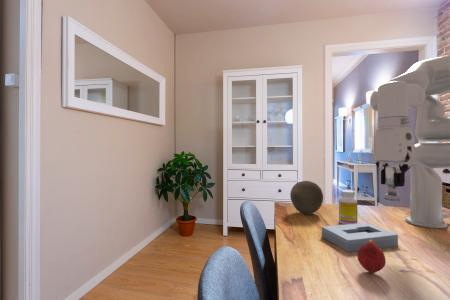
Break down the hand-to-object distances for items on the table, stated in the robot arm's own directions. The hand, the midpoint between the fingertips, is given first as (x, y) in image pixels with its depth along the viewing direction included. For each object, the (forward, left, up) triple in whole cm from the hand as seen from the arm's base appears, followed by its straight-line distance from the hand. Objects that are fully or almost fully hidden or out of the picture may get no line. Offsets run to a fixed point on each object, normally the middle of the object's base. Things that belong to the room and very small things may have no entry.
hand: (392, 184), depth 71 cm
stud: (0, 0, -4) cm, 4 cm away
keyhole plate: (+6, -7, -19) cm, 21 cm away
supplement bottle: (-4, -23, -19) cm, 30 cm away
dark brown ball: (+5, -38, -19) cm, 43 cm away
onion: (+18, +10, -19) cm, 28 cm away
